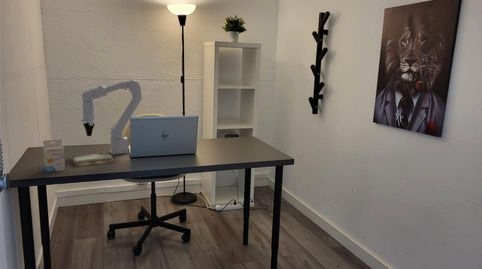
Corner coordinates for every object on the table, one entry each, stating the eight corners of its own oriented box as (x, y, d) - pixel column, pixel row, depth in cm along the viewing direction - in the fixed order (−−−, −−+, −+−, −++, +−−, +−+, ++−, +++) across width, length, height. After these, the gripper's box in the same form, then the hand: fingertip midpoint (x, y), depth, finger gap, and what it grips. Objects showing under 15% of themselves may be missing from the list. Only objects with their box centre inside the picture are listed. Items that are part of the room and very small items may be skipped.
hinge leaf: (108, 155, 201) (107, 152, 201) (112, 159, 193) (112, 156, 193) (73, 159, 191) (72, 156, 191) (76, 163, 183) (75, 160, 183)
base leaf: (108, 156, 201) (107, 152, 201) (113, 162, 192) (113, 157, 191) (73, 160, 191) (72, 156, 191) (76, 166, 182) (76, 161, 182)
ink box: (45, 172, 171) (43, 142, 168) (44, 169, 175) (42, 140, 172) (65, 170, 176) (63, 141, 173) (63, 167, 180) (62, 138, 177)
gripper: (78, 110, 205) (79, 133, 208) (83, 114, 193) (84, 139, 196) (91, 110, 209) (92, 132, 212) (97, 114, 197) (97, 138, 200)
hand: (89, 135), depth 204 cm, fingers closed
